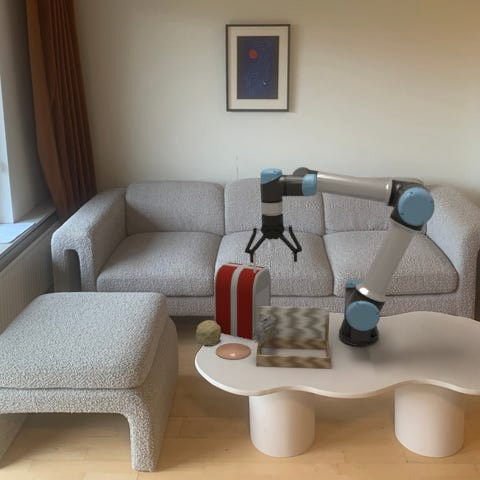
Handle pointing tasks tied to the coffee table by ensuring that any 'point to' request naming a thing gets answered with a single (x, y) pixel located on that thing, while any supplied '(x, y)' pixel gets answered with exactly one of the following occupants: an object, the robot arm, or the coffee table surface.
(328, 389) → the coffee table surface
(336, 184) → the robot arm
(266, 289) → the red striped box
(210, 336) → the decorative object
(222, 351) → the peach round smooth part
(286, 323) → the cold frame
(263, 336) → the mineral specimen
